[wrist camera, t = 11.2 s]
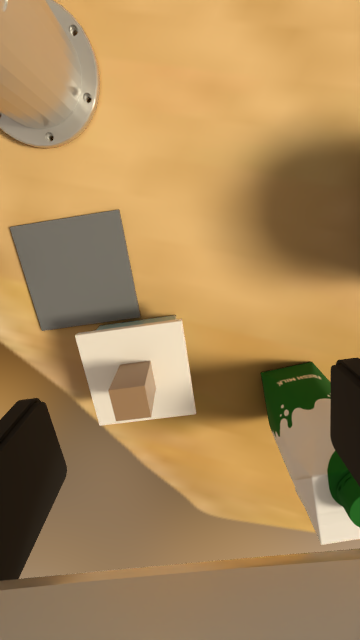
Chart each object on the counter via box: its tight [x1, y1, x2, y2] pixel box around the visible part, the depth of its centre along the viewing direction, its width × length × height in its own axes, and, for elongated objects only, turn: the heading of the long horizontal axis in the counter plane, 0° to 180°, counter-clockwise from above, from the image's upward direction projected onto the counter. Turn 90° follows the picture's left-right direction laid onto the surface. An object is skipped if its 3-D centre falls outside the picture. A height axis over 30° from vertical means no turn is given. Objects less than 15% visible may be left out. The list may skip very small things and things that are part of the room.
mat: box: [10, 210, 140, 331], centre depth 37 cm, size 13×13×1 cm
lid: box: [75, 319, 196, 425], centre depth 32 cm, size 12×12×6 cm
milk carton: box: [261, 362, 360, 545], centre depth 32 cm, size 9×9×20 cm
